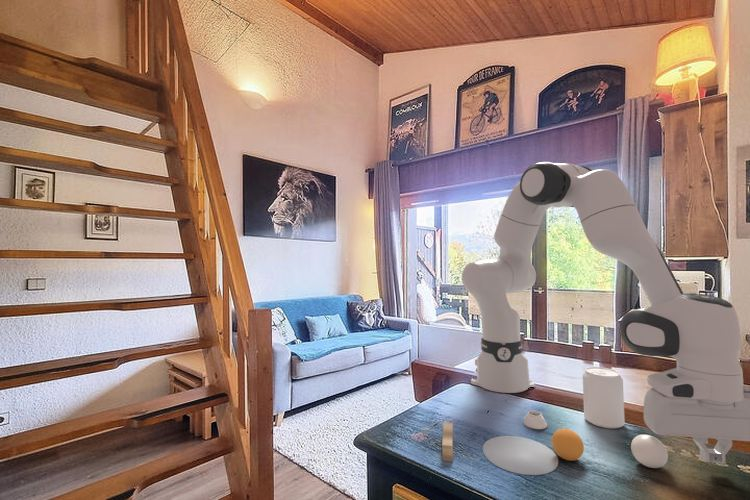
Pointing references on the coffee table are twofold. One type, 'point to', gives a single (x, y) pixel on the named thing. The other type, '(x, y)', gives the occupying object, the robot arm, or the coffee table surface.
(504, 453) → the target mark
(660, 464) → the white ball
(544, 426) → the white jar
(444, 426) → the wall
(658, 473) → the coffee table surface
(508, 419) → the coffee table surface
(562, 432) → the orange ball
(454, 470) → the coffee table surface
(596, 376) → the beverage can
